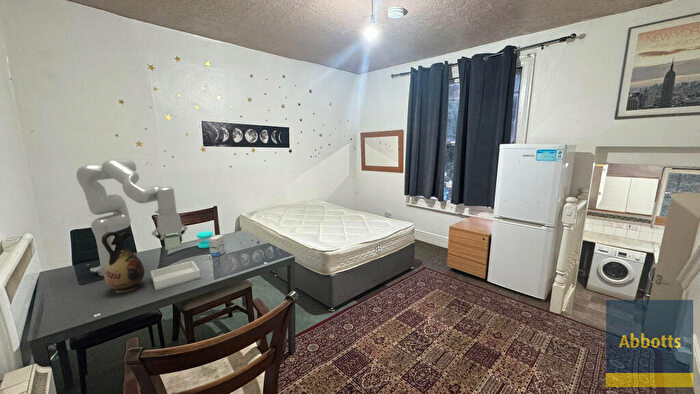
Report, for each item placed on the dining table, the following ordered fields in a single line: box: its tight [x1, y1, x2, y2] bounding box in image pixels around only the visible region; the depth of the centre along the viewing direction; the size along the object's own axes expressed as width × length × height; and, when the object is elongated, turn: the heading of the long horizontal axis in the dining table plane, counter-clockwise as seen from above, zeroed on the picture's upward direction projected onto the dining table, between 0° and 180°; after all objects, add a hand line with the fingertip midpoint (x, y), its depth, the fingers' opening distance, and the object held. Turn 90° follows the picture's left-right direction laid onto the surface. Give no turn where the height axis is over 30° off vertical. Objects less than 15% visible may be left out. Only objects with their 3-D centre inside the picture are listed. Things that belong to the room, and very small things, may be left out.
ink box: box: [208, 234, 226, 258], centre depth 181 cm, size 9×5×12 cm, turn 168°
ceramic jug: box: [102, 231, 145, 294], centre depth 135 cm, size 17×15×30 cm
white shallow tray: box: [149, 260, 201, 291], centre depth 148 cm, size 20×16×4 cm
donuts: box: [196, 230, 214, 249], centre depth 194 cm, size 10×10×10 cm
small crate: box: [163, 233, 182, 251], centre depth 145 cm, size 6×6×6 cm
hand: (172, 244), depth 145 cm, fingers closed on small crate, 6 cm apart
